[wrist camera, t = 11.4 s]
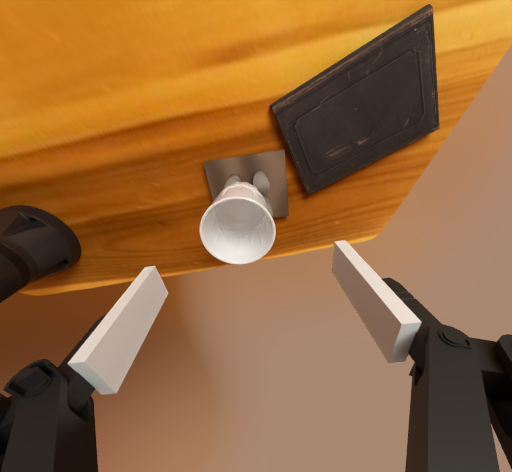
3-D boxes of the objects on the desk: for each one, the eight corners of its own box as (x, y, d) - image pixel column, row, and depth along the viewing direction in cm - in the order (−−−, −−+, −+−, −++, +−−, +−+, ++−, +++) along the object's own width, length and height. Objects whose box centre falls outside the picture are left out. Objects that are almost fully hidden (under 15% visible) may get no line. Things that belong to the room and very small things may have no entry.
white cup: (277, 193, 28) (290, 219, 19) (252, 235, 31) (253, 274, 22) (228, 166, 26) (217, 182, 17) (207, 214, 29) (188, 248, 20)
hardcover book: (427, 129, 32) (439, 128, 30) (304, 192, 37) (308, 195, 35) (418, 11, 26) (432, 0, 24) (268, 106, 30) (270, 104, 28)
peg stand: (220, 222, 39) (213, 243, 31) (204, 161, 33) (191, 168, 26) (287, 213, 38) (296, 231, 31) (283, 149, 33) (293, 152, 25)
